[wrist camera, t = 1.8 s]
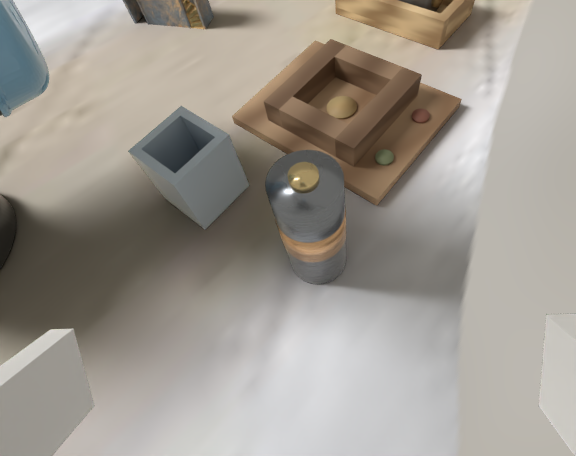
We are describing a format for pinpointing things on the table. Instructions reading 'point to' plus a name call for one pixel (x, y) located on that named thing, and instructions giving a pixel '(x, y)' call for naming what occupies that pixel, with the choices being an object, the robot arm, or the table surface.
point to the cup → (192, 165)
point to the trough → (410, 17)
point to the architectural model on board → (171, 12)
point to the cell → (310, 213)
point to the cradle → (350, 114)
